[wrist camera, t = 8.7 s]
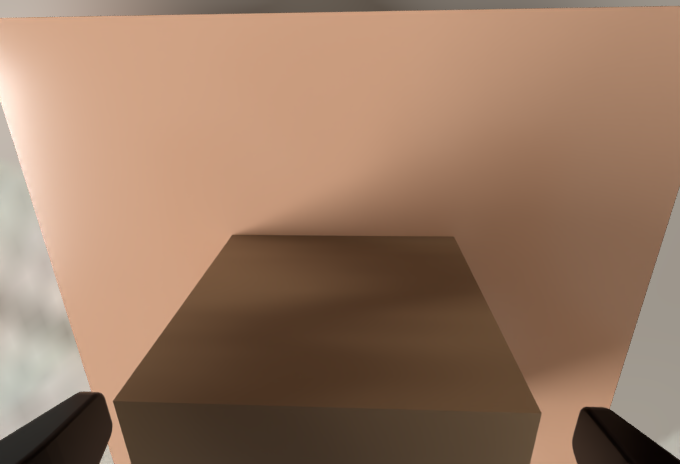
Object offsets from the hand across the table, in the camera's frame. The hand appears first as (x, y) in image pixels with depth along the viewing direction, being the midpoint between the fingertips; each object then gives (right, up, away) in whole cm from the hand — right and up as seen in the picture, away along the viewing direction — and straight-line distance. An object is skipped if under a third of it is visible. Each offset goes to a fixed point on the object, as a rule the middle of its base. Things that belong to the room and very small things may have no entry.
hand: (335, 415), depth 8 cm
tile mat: (0, +1, +3) cm, 4 cm away
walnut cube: (0, +1, +2) cm, 3 cm away
